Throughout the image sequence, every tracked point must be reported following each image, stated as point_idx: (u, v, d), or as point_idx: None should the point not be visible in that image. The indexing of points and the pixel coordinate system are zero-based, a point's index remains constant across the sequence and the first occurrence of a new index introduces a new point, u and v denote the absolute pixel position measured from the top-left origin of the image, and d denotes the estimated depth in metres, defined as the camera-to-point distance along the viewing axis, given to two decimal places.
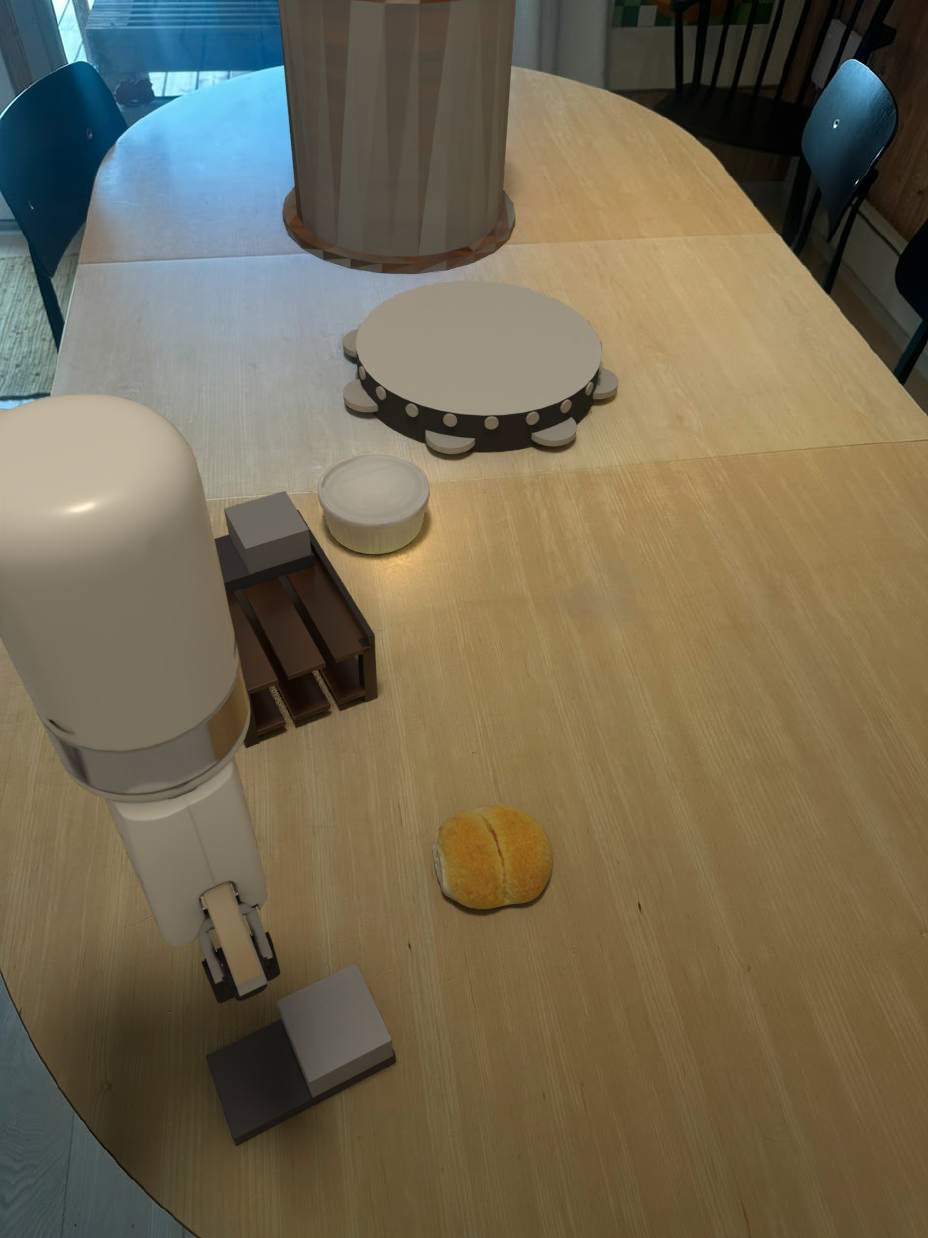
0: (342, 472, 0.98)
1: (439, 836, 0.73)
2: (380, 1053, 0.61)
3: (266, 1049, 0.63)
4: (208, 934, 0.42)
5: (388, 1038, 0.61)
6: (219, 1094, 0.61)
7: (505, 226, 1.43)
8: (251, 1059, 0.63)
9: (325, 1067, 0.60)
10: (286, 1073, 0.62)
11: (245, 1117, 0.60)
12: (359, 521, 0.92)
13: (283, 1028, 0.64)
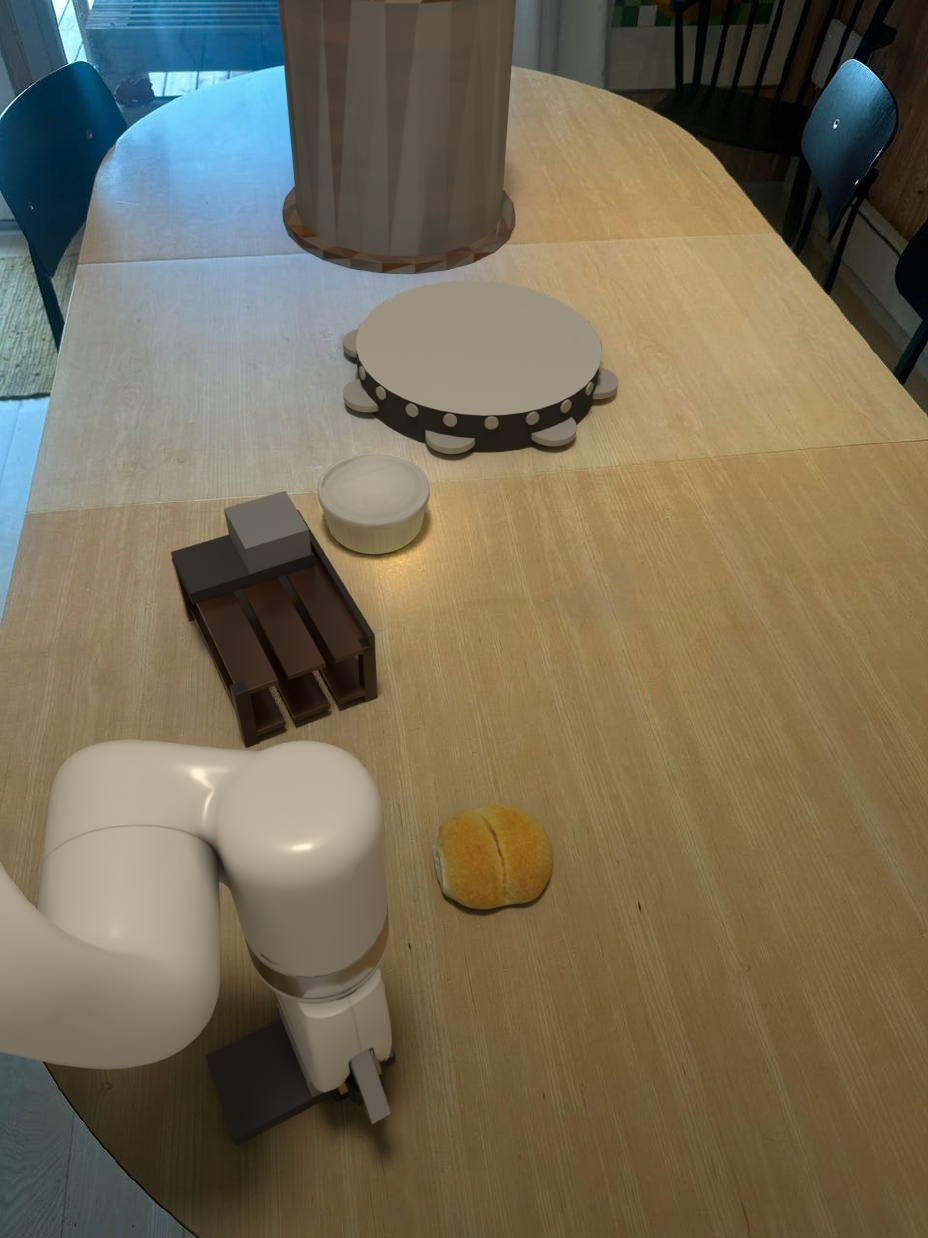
0: (342, 472, 0.98)
1: (439, 836, 0.73)
2: None
3: (266, 1049, 0.63)
4: None
5: None
6: (219, 1094, 0.61)
7: (505, 226, 1.43)
8: (251, 1059, 0.63)
9: None
10: (286, 1073, 0.62)
11: (246, 1117, 0.60)
12: (359, 521, 0.92)
13: (283, 1028, 0.64)
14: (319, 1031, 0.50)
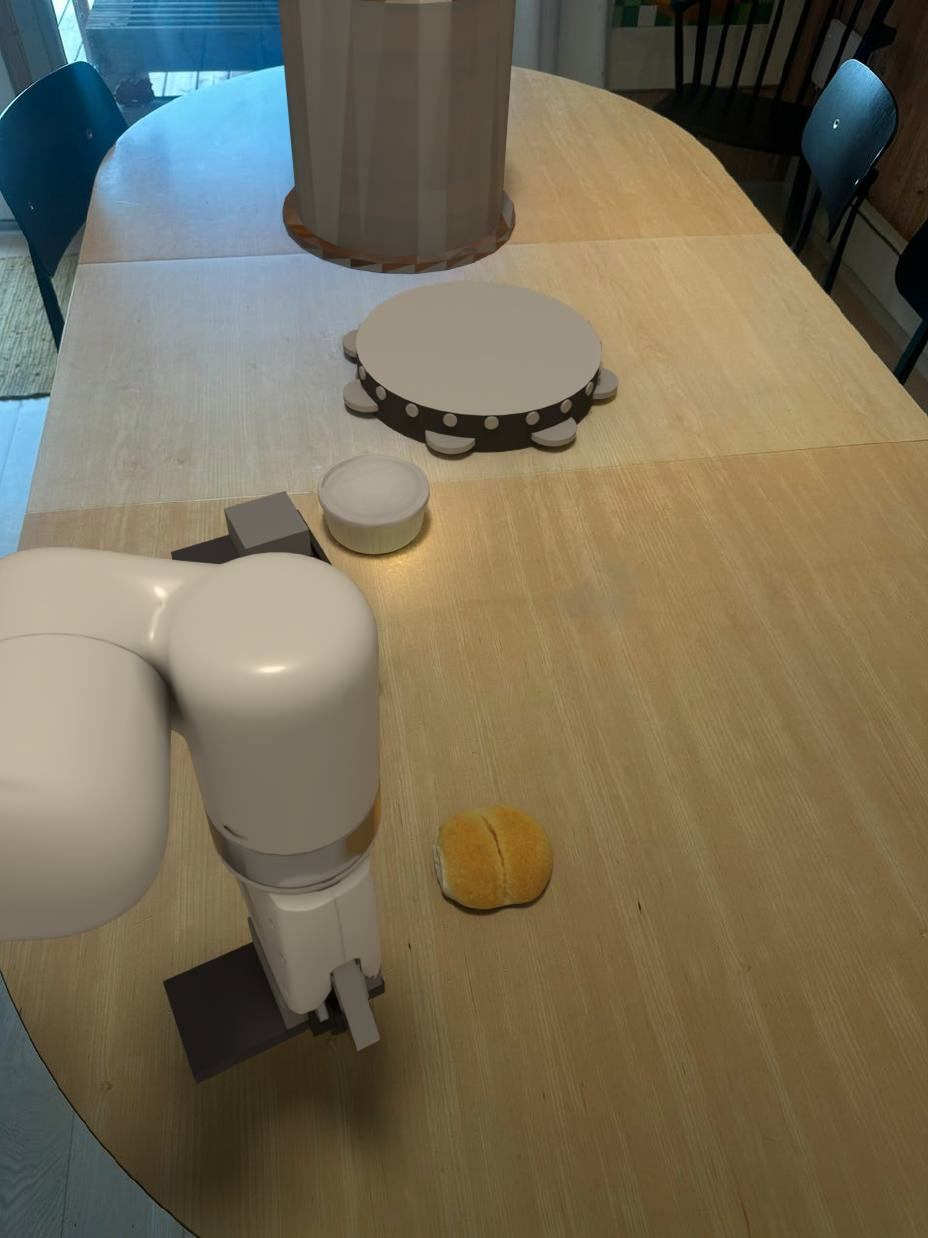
0: (342, 472, 0.98)
1: (439, 836, 0.73)
2: (367, 979, 0.53)
3: (234, 975, 0.54)
4: None
5: None
6: (178, 1024, 0.52)
7: (505, 226, 1.43)
8: (217, 986, 0.54)
9: None
10: (257, 1002, 0.53)
11: (208, 1050, 0.51)
12: (358, 521, 0.92)
13: (254, 952, 0.55)
14: (295, 929, 0.41)
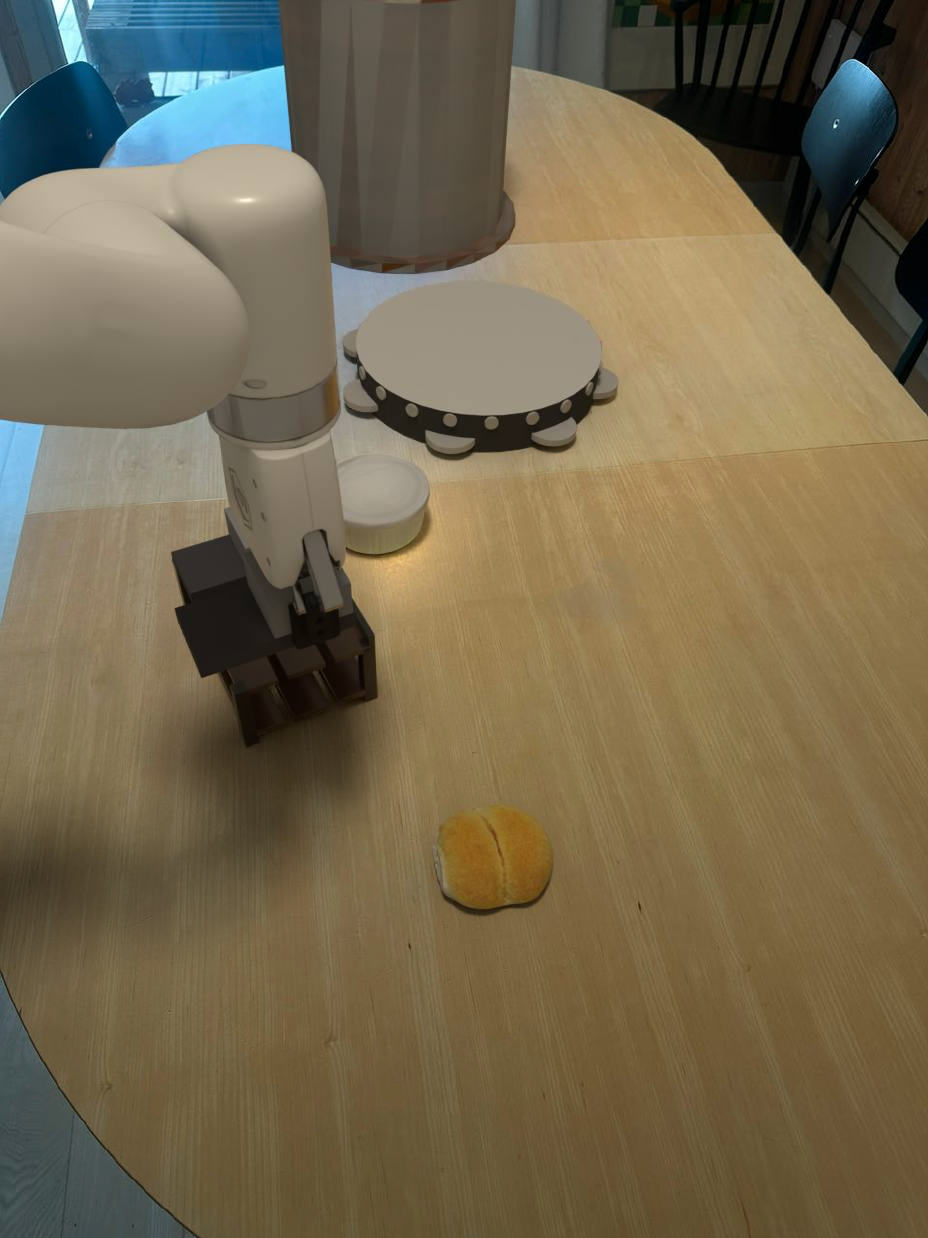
0: (342, 472, 0.98)
1: (439, 836, 0.73)
2: None
3: (232, 605, 0.66)
4: (299, 581, 0.60)
5: (347, 581, 0.64)
6: (186, 634, 0.64)
7: (505, 226, 1.43)
8: (218, 611, 0.66)
9: (286, 598, 0.63)
10: (250, 621, 0.65)
11: (211, 650, 0.63)
12: (359, 521, 0.92)
13: (249, 591, 0.67)
14: (271, 478, 0.53)
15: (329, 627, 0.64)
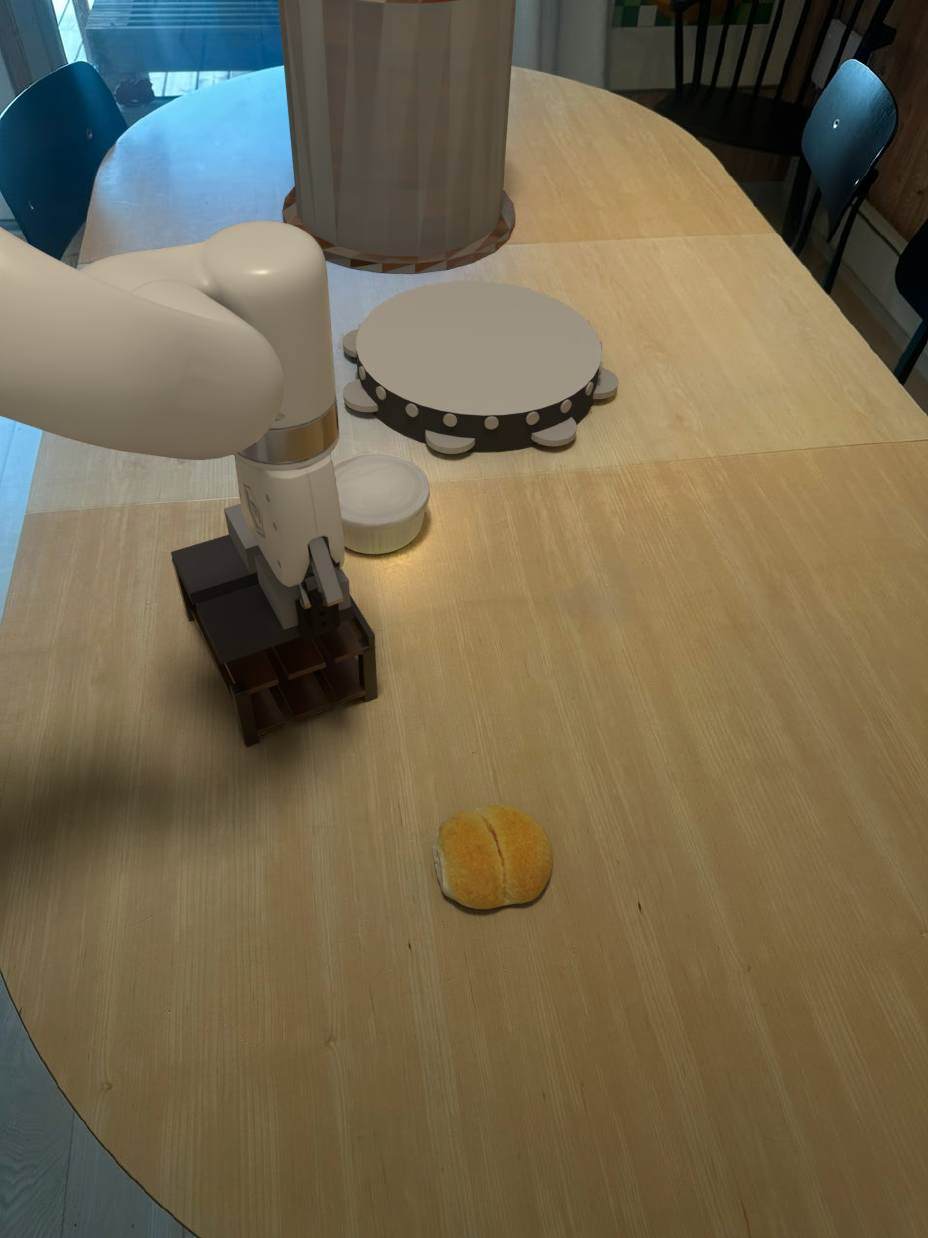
0: (342, 472, 0.98)
1: (439, 836, 0.73)
2: None
3: (246, 601, 0.76)
4: (304, 580, 0.70)
5: (345, 579, 0.74)
6: (207, 627, 0.74)
7: (505, 226, 1.43)
8: (234, 606, 0.76)
9: (293, 594, 0.73)
10: (262, 615, 0.75)
11: (229, 640, 0.73)
12: (359, 521, 0.92)
13: (260, 589, 0.77)
14: (282, 494, 0.63)
15: (330, 619, 0.74)
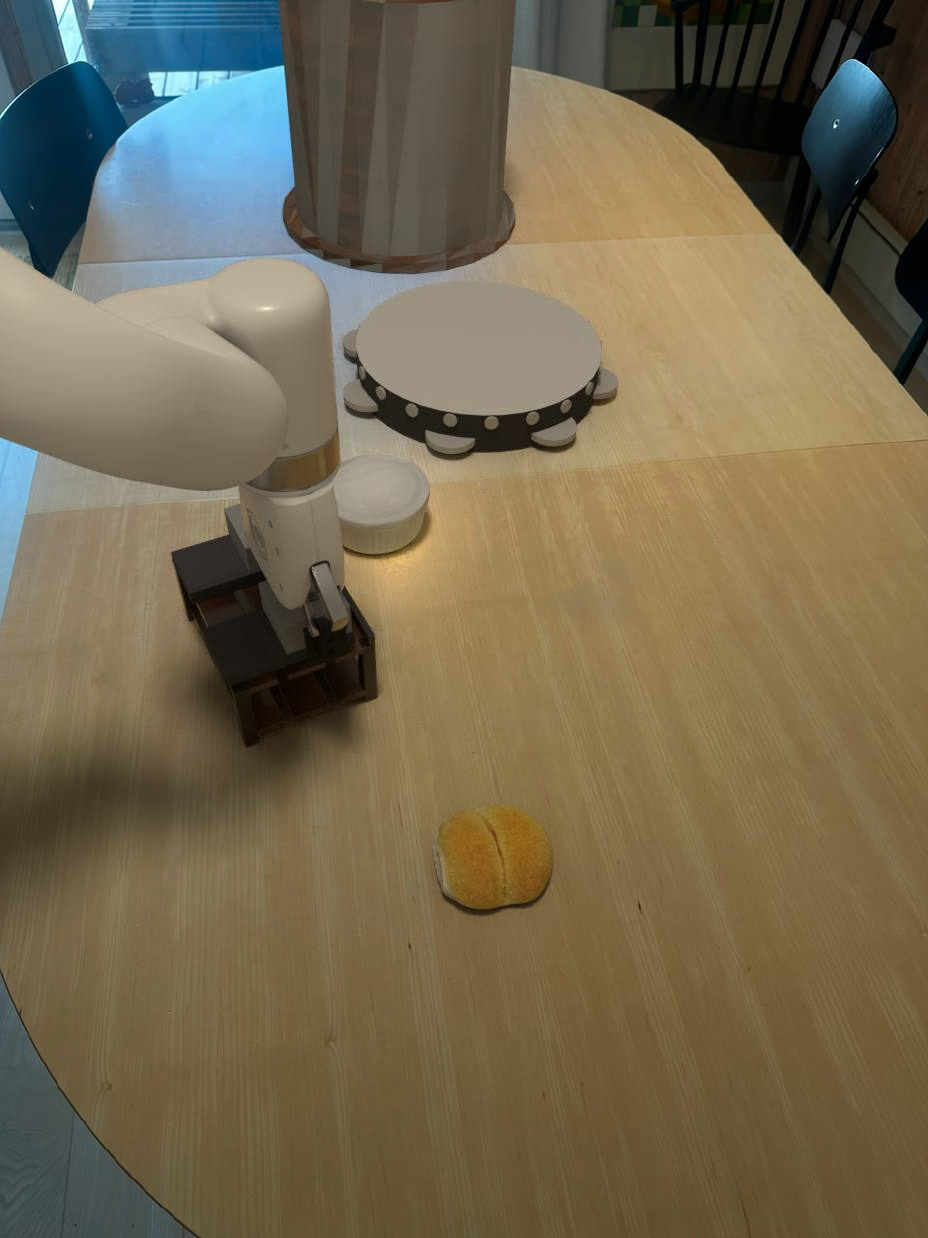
0: (342, 472, 0.98)
1: (439, 836, 0.73)
2: None
3: (250, 626, 0.78)
4: (310, 604, 0.71)
5: (347, 605, 0.76)
6: (212, 651, 0.76)
7: (505, 226, 1.43)
8: (238, 631, 0.78)
9: (296, 620, 0.75)
10: (266, 640, 0.77)
11: (233, 664, 0.76)
12: (359, 521, 0.92)
13: (264, 614, 0.79)
14: (285, 520, 0.65)
15: (338, 647, 0.74)
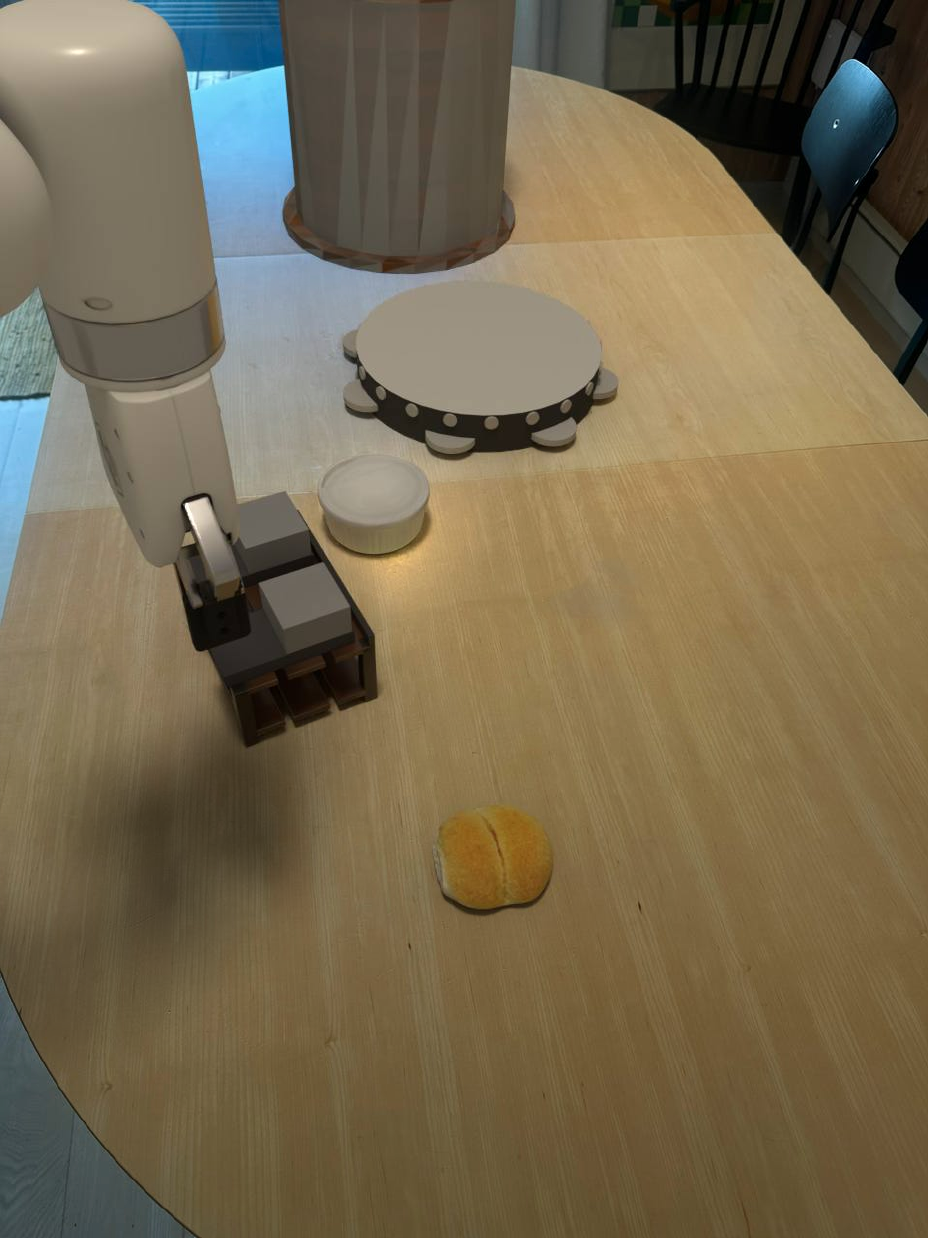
0: (342, 472, 0.98)
1: (439, 836, 0.73)
2: (341, 620, 0.77)
3: None
4: (188, 560, 0.49)
5: (347, 605, 0.76)
6: (212, 651, 0.76)
7: (505, 226, 1.43)
8: None
9: (296, 620, 0.75)
10: (266, 640, 0.77)
11: (233, 664, 0.76)
12: (359, 521, 0.92)
13: (264, 614, 0.79)
14: (135, 427, 0.43)
15: (235, 624, 0.52)
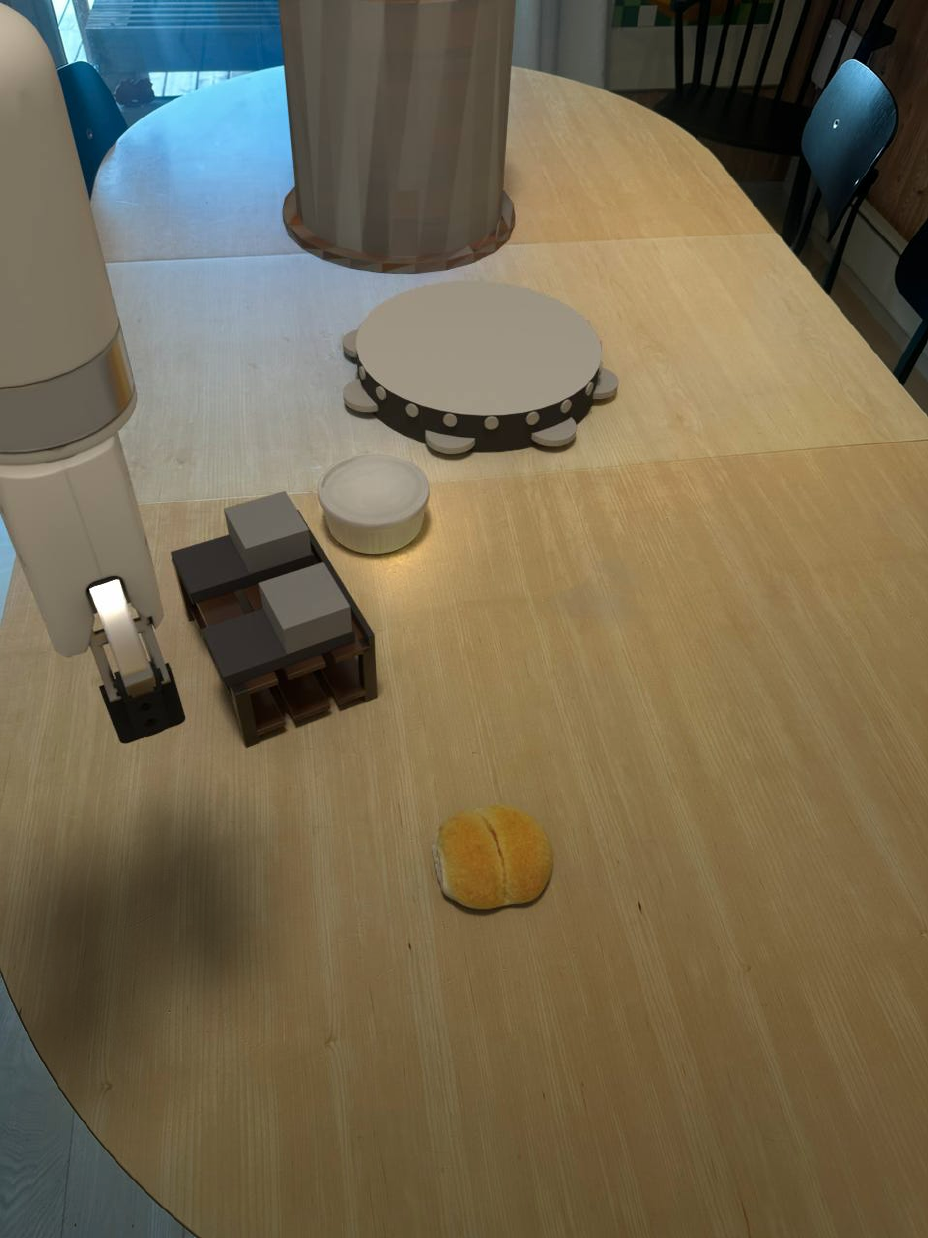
0: (342, 472, 0.98)
1: (439, 836, 0.73)
2: (341, 620, 0.77)
3: (250, 626, 0.78)
4: (102, 647, 0.42)
5: (347, 605, 0.76)
6: (212, 651, 0.76)
7: (505, 226, 1.43)
8: (238, 631, 0.78)
9: (296, 620, 0.75)
10: (266, 640, 0.77)
11: (233, 664, 0.76)
12: (358, 521, 0.92)
13: (264, 614, 0.79)
14: (21, 506, 0.36)
15: (163, 714, 0.45)
